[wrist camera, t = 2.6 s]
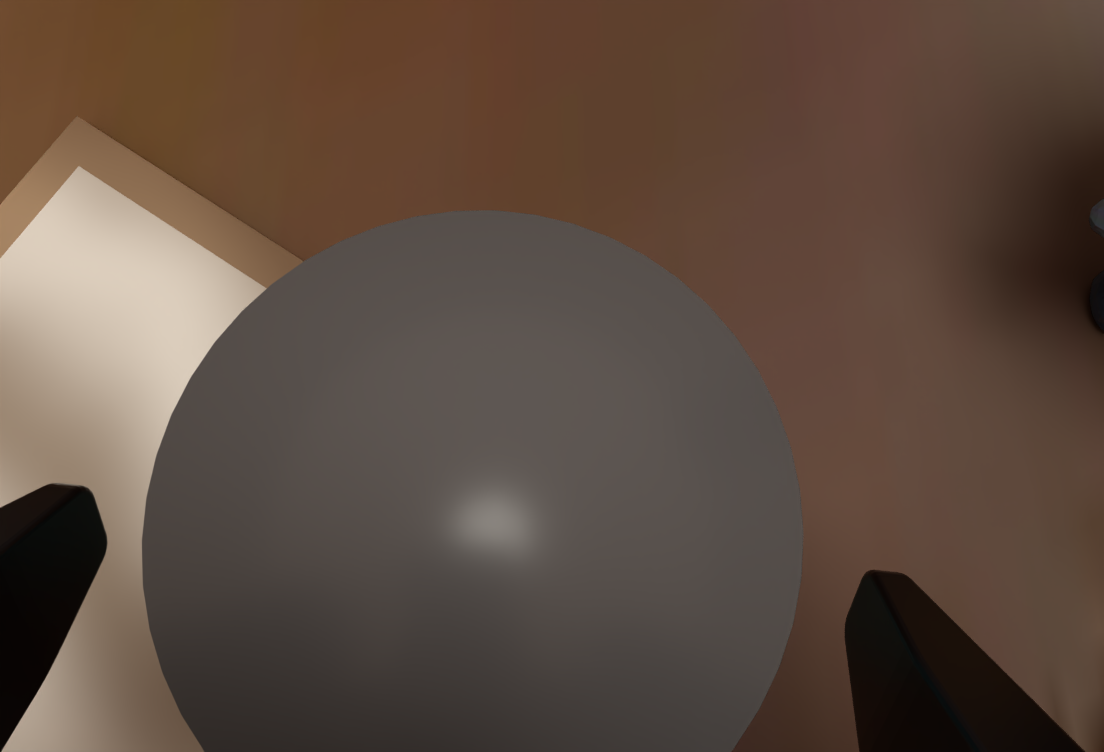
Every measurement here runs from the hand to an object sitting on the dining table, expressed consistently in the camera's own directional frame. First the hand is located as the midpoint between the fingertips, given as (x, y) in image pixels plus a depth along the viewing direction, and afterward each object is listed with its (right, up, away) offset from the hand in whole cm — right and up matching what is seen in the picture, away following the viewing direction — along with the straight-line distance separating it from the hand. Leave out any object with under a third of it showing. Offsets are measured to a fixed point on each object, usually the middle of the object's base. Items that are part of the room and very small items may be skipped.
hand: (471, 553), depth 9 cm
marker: (+1, -2, +8) cm, 8 cm away
